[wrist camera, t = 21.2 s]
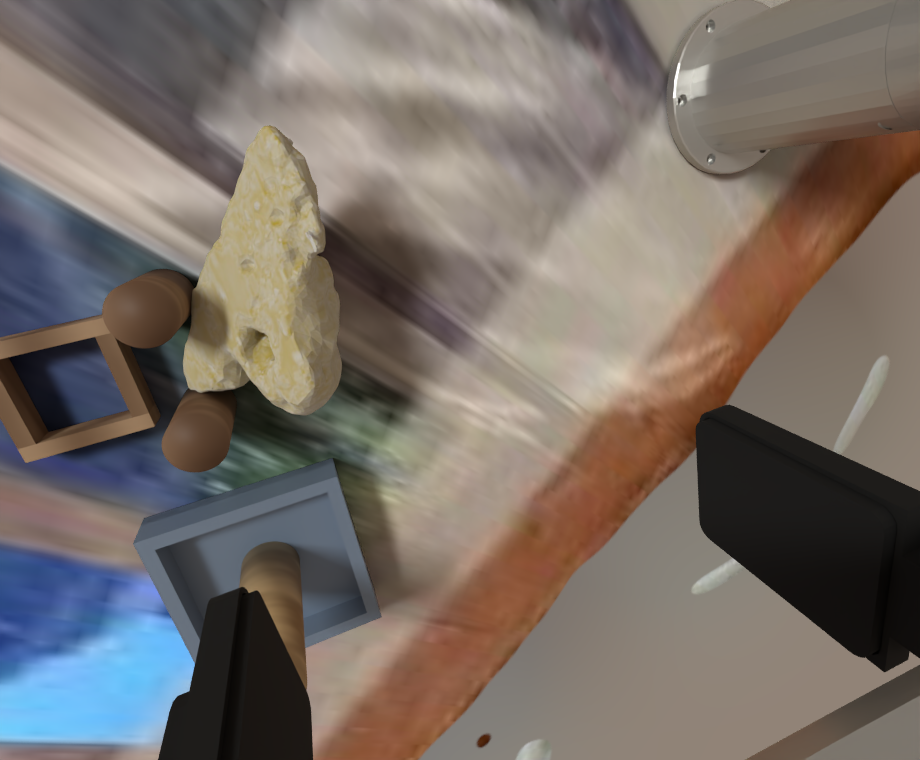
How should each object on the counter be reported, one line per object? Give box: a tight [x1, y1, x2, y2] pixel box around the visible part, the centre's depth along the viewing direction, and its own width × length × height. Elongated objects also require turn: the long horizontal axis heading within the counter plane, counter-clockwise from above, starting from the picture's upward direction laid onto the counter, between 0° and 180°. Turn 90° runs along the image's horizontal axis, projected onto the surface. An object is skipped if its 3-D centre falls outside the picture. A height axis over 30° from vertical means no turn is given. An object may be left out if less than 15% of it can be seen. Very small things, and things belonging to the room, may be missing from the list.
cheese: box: [183, 126, 342, 415], centre depth 34 cm, size 15×7×15 cm
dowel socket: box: [0, 315, 161, 463], centre depth 33 cm, size 8×8×2 cm
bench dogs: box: [102, 269, 237, 472], centre depth 32 cm, size 4×12×7 cm, turn 11°
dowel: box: [239, 541, 307, 688], centre depth 36 cm, size 4×4×12 cm
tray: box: [133, 458, 381, 662], centre depth 41 cm, size 14×14×3 cm
